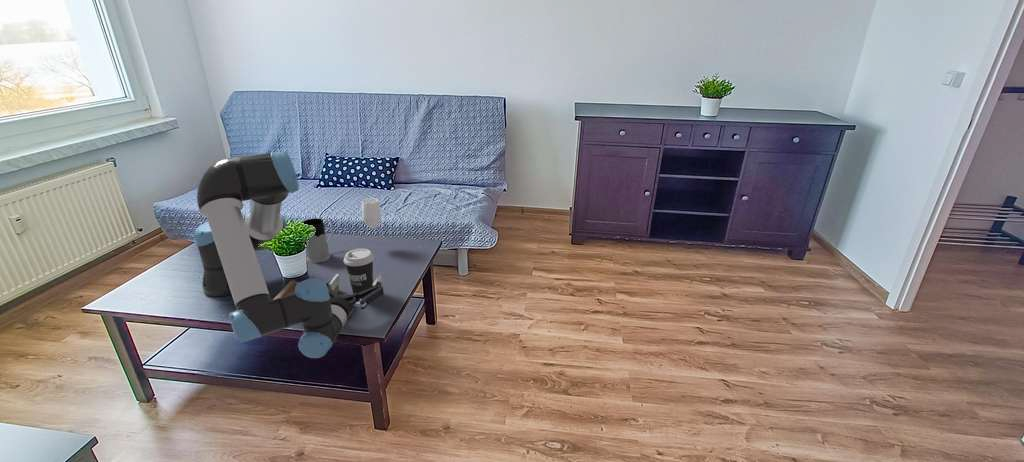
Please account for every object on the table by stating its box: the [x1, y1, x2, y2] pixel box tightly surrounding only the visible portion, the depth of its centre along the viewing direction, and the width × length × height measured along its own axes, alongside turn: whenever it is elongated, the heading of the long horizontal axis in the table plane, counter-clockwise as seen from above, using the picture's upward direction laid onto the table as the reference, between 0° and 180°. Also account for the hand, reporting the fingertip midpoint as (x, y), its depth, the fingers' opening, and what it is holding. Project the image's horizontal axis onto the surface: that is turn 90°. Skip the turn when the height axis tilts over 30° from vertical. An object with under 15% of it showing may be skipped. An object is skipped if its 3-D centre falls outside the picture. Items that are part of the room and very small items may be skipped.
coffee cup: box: [343, 248, 375, 294], centre depth 153 cm, size 10×10×15 cm
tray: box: [272, 280, 340, 300], centre depth 150 cm, size 16×16×4 cm
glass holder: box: [301, 217, 334, 264], centre depth 180 cm, size 9×14×15 cm, turn 158°
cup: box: [361, 197, 382, 230], centre depth 184 cm, size 7×7×21 cm
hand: (359, 278), depth 149 cm, fingers open, 13 cm apart
